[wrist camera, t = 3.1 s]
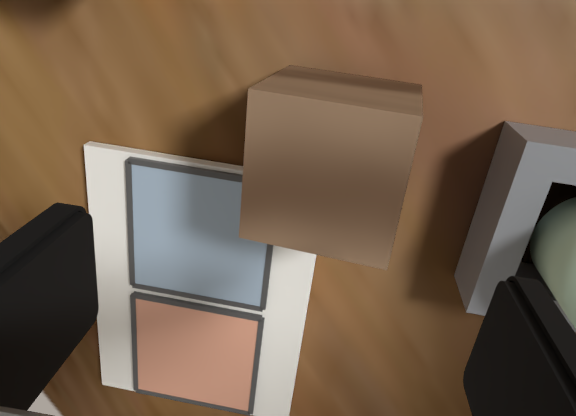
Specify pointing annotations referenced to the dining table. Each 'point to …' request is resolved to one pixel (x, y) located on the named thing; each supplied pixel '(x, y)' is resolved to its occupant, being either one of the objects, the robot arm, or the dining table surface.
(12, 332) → the robot arm
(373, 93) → the walnut block
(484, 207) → the button housing
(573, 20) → the dining table surface
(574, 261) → the button
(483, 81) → the dining table surface
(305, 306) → the picture card
